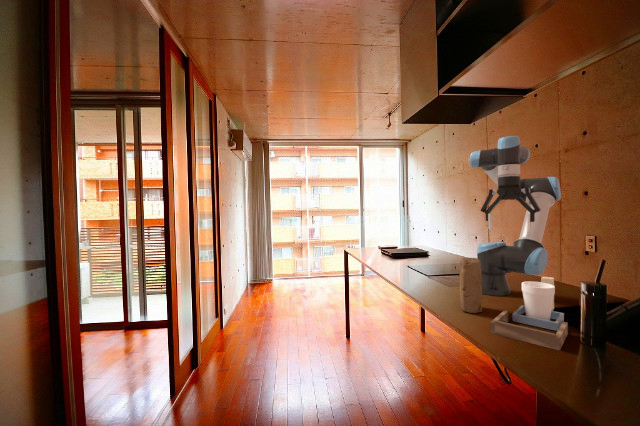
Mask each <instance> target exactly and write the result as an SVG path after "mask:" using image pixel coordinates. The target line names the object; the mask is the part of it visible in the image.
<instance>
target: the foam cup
mask: <svg viewBox="0 0 640 426" xmlns="http://www.w3.org/2000/svg"><path fill="white" fill-rule="evenodd" d="M555 290H556V287H555V284H554V285H551V284H547V283H542V282H541V281H530V280H529V281H523V282H521V291H522V297H523V303H524V306H525V311H526V314H525V316H528V317H533V318H538V319H543V320H548V321H551V318H550V316H551V310H552V304H553V298H554V299H555V294H556V291H555Z"/></svg>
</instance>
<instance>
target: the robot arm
mask: <svg viewBox="0 0 640 426" xmlns="http://www.w3.org/2000/svg"><path fill="white" fill-rule="evenodd" d="M530 158H531V151H530V149H528V148H527V146H524V145H521V139H520V137H519V136H518V135H510V136H509V135H508V136H503V137H500V138H499V139H498V140H497V147H496V148H490V149H489V148H488V149H479V150H475V151H473V152H471V154H470V155H469V164H470V167H472V168H474V169H479V168H480V169H482V171H483V172H485V174H486V175H487V176H488V177H489V178H490V179H491V180H492V182H494V183H495V185H497V189H492V188H491V189H488V196H487V197H486V199H485V201H484V203H483V205H482V206H481V208H480V212H481V213H485V221H486V222H487V226H488V228H487V229H488V230H493V212H492V211H493V210H494V209H495V208H496V207H497V206H498V205H499V204H500V202H502V201H508V200H512V201H513V200H514V201H517V202H519V204H521V206H522V207H523V208H525V209H526V211H525V214H524V220H523V222H522V227H521V229H520V234H519V238H517V239H515V240H514V242H513V244H512V245H507V244H506V242H505V241H493V242H483V243H480V244H478V245H477V251H476V254H477V255H476V257H477V259H479V260H480V262H481V276H482V295H488V296H493V297H494V296H497V297H498V296H500V297H501V296H504V297H505V296H509V295H510V294H511V287H510V283H509V282H508V279H507V275H506V273H507V272H509V273H516V274H525V275H528V276H529V275H534V276H535V275H536V276H539V275H542V274H543V273H544V271H545V270H546V268H547V265H548V260H549V253H548V252H549V251H548V250H547V248H546V247H545V246H544V245H543V238H544V233H545V230H546V225H547V220H548V217H549V212H550V208H551V207H553V206H554V205H555V203H556V201H561V199H562V190H561V184H560V180H559V178H558V177H557V176H545V177H532V178H531V177H529V178H521V176H520V175H521V165H522V164H525V163H527V162H528V161H529V159H530ZM496 193H497V195H498V196H497V197H496V199H495V200H494V201H493V202H492V203H491V201H492V199H493V197H494V196H495V195H496ZM490 203H491V204H490ZM488 206H489V207H488ZM491 212H492V213H491Z"/></svg>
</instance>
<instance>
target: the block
mask: <svg viewBox="0 0 640 426" xmlns="http://www.w3.org/2000/svg"><path fill="white" fill-rule="evenodd" d="M459 303H460V309H461V311H463V312H465V313H471V314H478V313H482V311H483V294H482V276H481V262H480V260H479V259H477V258H476V257H462V258H461V259H460V261H459Z"/></svg>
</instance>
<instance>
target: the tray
mask: <svg viewBox="0 0 640 426" xmlns="http://www.w3.org/2000/svg"><path fill="white" fill-rule="evenodd" d="M540 282H542V283H547V284H551V285H554V286H555V277H551V276H542V277H541V278H540ZM554 310H555V297H554V298H553V304H552V310H551V316H550V321H548V320H543V319H538V318H533V317H528V316H526V311H525V305H520V306H519V307H518V308H517V309H516V310H515V311H514V312H513V313H511V314H512V315H511V316H512V318H511V319H512V322H515V323H519V324H523V325H524V324H525V325H529V326H533V327H537V328H542V329H547V330H550V331H551V330H552V331H556V332H557V331H558V330H559V328H560V326H561V324H562V323H563V322H565V321H564V320H565V313H564V312H559V311H554ZM523 314H525V315H523ZM552 320H555V321H552Z"/></svg>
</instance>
